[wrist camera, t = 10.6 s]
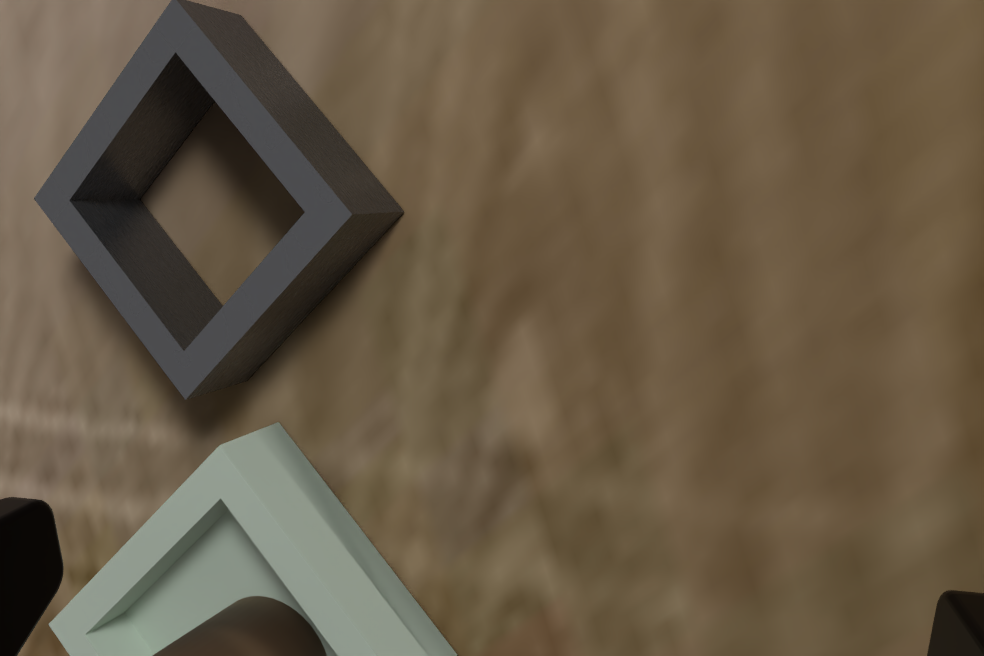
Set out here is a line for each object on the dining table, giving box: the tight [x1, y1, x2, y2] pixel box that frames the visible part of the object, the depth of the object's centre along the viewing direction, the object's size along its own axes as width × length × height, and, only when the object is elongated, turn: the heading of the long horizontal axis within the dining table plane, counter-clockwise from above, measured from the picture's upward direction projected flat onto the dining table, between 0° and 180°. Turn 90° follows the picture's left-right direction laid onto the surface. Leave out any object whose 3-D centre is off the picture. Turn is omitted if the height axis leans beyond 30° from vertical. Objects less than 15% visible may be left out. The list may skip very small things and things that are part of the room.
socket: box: [34, 0, 404, 400], centre depth 24 cm, size 7×7×2 cm
